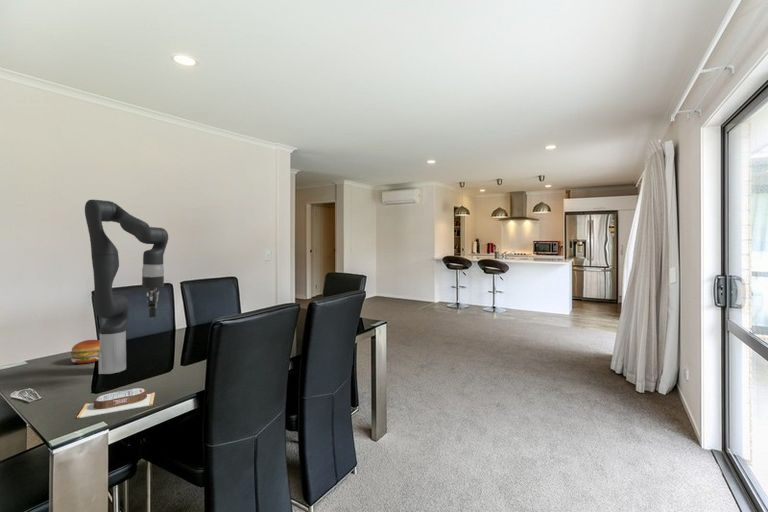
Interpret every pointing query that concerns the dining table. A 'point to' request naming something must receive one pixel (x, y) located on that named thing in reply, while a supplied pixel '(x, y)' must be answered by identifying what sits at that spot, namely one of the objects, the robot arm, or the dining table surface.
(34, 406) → the dining table surface
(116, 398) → the tin
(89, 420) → the dining table surface
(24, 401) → the dining table surface
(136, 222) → the robot arm
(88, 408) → the mat
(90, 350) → the burger
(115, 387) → the dining table surface
